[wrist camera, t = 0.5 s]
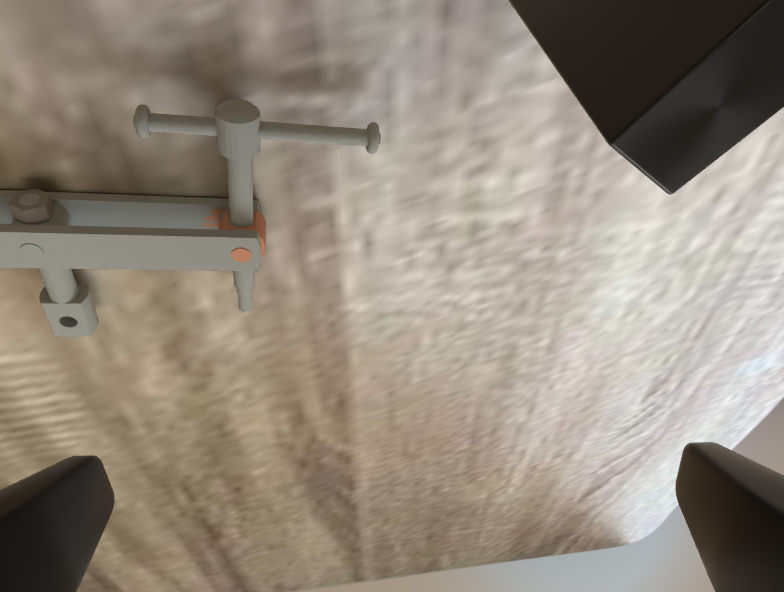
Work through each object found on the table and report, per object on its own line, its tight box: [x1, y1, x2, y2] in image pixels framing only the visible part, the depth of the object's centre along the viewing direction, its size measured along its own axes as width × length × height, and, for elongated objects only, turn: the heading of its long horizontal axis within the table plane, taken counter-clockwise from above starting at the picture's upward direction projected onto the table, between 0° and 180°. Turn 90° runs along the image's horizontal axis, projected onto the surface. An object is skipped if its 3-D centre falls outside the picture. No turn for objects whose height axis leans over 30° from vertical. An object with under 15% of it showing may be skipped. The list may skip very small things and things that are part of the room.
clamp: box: [0, 99, 380, 337], centre depth 20 cm, size 15×2×10 cm
